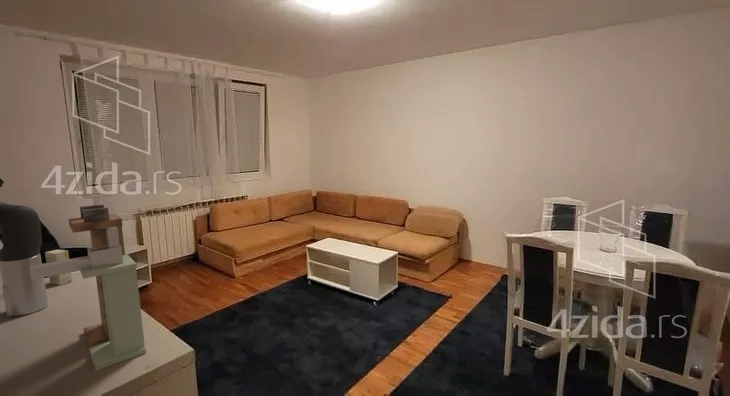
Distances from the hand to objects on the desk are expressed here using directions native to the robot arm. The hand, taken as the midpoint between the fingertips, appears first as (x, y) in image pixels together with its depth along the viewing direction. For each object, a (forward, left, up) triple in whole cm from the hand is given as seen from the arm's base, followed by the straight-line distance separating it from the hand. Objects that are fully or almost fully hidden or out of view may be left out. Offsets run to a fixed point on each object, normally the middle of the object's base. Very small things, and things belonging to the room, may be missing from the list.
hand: (0, 180), depth 85 cm
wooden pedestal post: (+16, -9, -43) cm, 47 cm away
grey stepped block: (+11, -22, -20) cm, 31 cm away
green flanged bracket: (+16, -22, -43) cm, 51 cm away
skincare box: (+9, +48, -43) cm, 65 cm away
